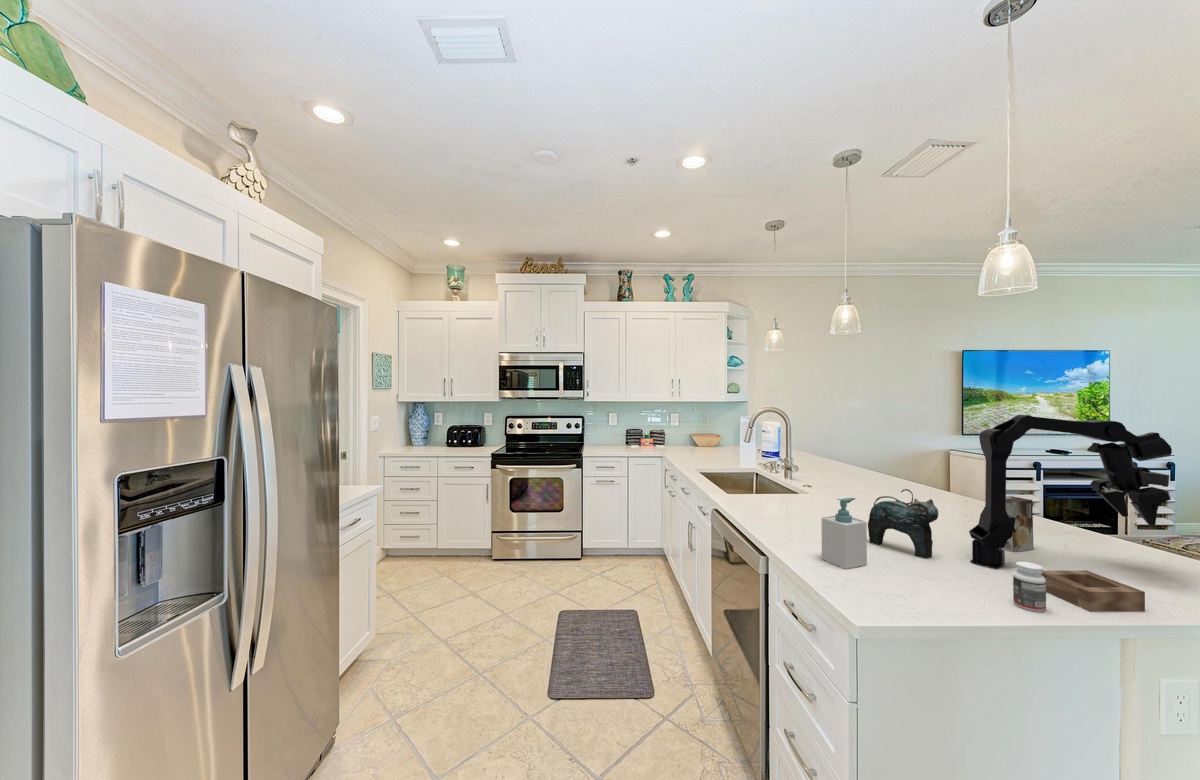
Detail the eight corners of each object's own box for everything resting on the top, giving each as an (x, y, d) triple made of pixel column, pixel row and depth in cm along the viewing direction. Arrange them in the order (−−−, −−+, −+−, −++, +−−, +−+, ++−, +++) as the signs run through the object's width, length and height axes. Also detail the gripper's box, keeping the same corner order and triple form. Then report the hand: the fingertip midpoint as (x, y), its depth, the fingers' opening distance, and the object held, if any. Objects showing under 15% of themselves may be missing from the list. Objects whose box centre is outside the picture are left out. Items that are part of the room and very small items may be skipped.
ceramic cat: (940, 558, 140) (939, 493, 141) (928, 562, 137) (928, 495, 138) (875, 540, 158) (874, 482, 158) (863, 543, 155) (863, 483, 155)
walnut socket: (1089, 611, 106) (1089, 591, 106) (1037, 587, 119) (1036, 570, 119) (1145, 611, 106) (1144, 591, 106) (1086, 587, 119) (1086, 570, 119)
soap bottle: (867, 565, 135) (867, 500, 135) (845, 569, 132) (845, 503, 132) (842, 555, 143) (842, 494, 143) (821, 559, 140) (820, 496, 140)
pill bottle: (1012, 599, 113) (1012, 558, 113) (1044, 606, 109) (1044, 564, 109) (1014, 607, 108) (1013, 565, 108) (1047, 615, 105) (1047, 571, 105)
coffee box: (1011, 543, 154) (1011, 495, 154) (1034, 549, 148) (1033, 499, 148) (991, 546, 151) (991, 497, 151) (1013, 552, 145) (1012, 501, 145)
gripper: (1186, 463, 115) (1209, 525, 114) (1128, 453, 133) (1148, 507, 132) (1130, 472, 119) (1152, 532, 117) (1081, 462, 136) (1099, 514, 135)
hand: (1138, 520), depth 125 cm, fingers open, 9 cm apart
